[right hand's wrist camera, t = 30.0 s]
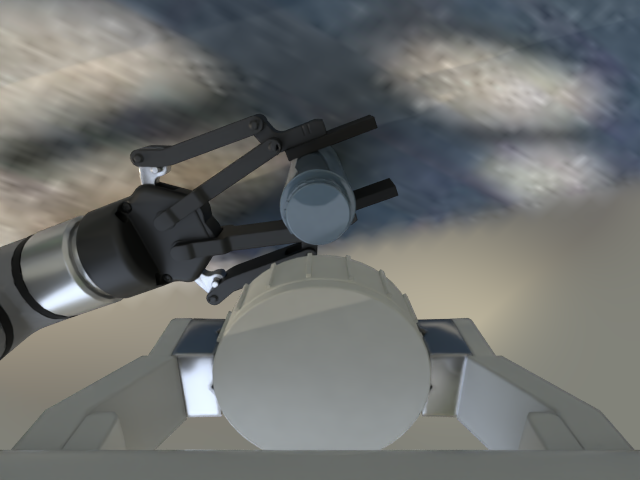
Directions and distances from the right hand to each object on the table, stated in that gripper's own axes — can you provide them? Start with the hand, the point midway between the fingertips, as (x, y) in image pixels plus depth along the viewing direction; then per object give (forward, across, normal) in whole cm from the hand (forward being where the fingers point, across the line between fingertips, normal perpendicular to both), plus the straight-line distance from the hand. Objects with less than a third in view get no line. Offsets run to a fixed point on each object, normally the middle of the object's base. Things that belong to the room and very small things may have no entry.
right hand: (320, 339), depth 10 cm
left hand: (+20, -5, -2) cm, 20 cm away
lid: (-2, 0, 0) cm, 2 cm away
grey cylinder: (+26, 0, 0) cm, 26 cm away
